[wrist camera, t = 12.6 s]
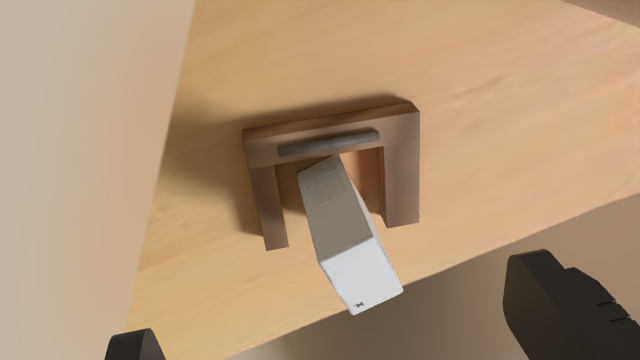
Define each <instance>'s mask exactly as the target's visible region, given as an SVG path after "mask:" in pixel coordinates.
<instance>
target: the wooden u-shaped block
mask: <svg viewBox="0 0 640 360" xmlns="http://www.w3.org/2000/svg"><path fill="white" fill-rule="evenodd" d="M242 136H243V144H244V149H245V154H246V158H247V163H248V168H249V172H250V177H251V182H252V186H253V191H254V196H255V200H256V205H257V209H258V214H259V219H260V223H261V228H262V233H263V237H264V242H265V247H266V251H269V250H275V249H280V248H285V247H289V245H288V239H287V233H286V228H285V222H284V217H283V211H282V206H281V200H280V195H279V189H278V184H277V178H276V173H275V167H274V165H276V164H282V163H288V162H294V161H299V160H305V159H311V158H317V157H322V156H328V155H334V154H340V153H346V152H351V151H357V150H363V149H369V148H375V147H378V159H379V181H380V202H381V217H382V219H383V221H384V223H385V225H386V227H387V228H392V227H398V226H403V225H408V224H414V223H419V154H420V111H419V110H418V109H417V108H416V107H415V105H414V104H413V103H412V102H409V103H403V104H397V105H391V106H385V107H379V108H373V109H367V110H360V111H354V112H348V113H342V114H336V115H330V116H324V117H318V118H312V119H306V120H300V121H294V122H288V123H282V124H276V125H270V126H264V127H258V128H252V129H246V130H242Z"/></svg>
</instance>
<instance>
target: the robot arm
mask: <svg viewBox="0 0 640 360" xmlns="http://www.w3.org/2000/svg"><path fill="white" fill-rule="evenodd" d="M562 1H565V2H568V3H570V4H573V5H576V6H579V7H582V8H584V9H587V10H590V11H593V12H595V13H598V14H601V15H604V16H607V17H609V18H612V19H615V20H618V21H621V22H624V23H627V24H630V25H633V26H636V27H639V28H640V0H562ZM503 311H504V315H505V319H506V321H507V324H508V326H509V328H510V330H511V331H512V333H513V335H514V336H515V338H516V339H517V341H518V342H519V344H520V346H521V347H522V349H523V350H524V352H525V354H526V355H527V357H528V358H529V360H640V326H639V325H638V324H637V323H636V321H635V320H631V318H630V315H629V314H628V313H627V312H626V311H625V310H624V309H623V308H622V306H621V305H619V304H617V303H616V300H615V299H614V298H613V297H612V296H611V295H610V294H609V293H608V291H607V290H606V289H605V288H604V287H603V286H602V285H601V284H600V283H599V282H598V281H597V280H595V279H593V278H591V277H590V276H588V275H586V274H585V273H583V272H582V271H580V270H578V269H577V268H575V267H572V268H568V269H564V268H563V266H562V265H561V264H560V263H559V262H558V261H557V260H556V259H555V258H554V256H553V255H552V254H551V253H550V252H549V251H548V250H546V249H540V250H536V251H531V252H526V253H521V254H516V255H512V256H510V257H509V259H508V263H507V272H506V280H505V288H504V296H503ZM105 360H166V359H165V357H164V354H163V352H162V350H161V348H160V346H159V343H158V341H157V339H156V337H155V334H154V332H153V331H152V330H151V329H150V328H147V329H142V330H137V331H132V332H127V333H123V334H118V335H114V336H112V338H111V339H110V341H109V345H108V348H107V352H106V356H105Z"/></svg>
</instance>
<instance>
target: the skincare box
mask: <svg viewBox="0 0 640 360" xmlns="http://www.w3.org/2000/svg"><path fill="white" fill-rule="evenodd" d="M297 179H298V183H299V187H300V191H301V195H302V199H303V203H304V207H305V211H306V216H307V220H308V224H309V228H310V232H311V236H312V240H313V244H314V248H315V252H316V256H317V260H318V263H319V265H320V267H321V268H322V270H323V271H324V273H325V274H326V276H327V277H328V279H329V280H330V282H331V284H332V286H333V288H334V289H335V291H336V293H337V294H338V295H339V296H340V298H341V299H342V301H343V302H344V304H345V305H346V307H347V308H348V310H349V311H350V313H351V314H352V315H355V314H358V313H360V312H362V311H364V310H366V309H368V308H370V307H372V306H374V305H377V304H379V303H381V302H383V301H385V300H388V299H390V298H392V297H394V296H396V295H398V294H400V293H401V292H403V288H402V286H401V284H400V282H399V279H398V277H397V275H396V272H395V270H394V268H393V266H392V263H391V261H390V259H389V257H388V254H387V252H386V250H385V248H384V245H383V243H382V241H381V238H380V236H379V234H378V232H377V229H376V227H375V225H374V223H373V220H372V218H371V216H370V214H369V211H368V209H367V207H366V205H365V202H364V200H363V199H362V197H361V195H360V193H359V191H358V189H357V188H356V186H355V184H354V182H353V180H352V178H351V176H350V174H349V173H348V171H347V169H346V167H345V165H344V163H343V161H342V159H341V157H340V155H339V154H334V155H332V156H331V157H329V158H327V159H325V160H323V161H321V162H319V163H317V164H315V165H313V166H311V167H309V168H307V169H305V170H303V171H301V172H299V173H297Z"/></svg>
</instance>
